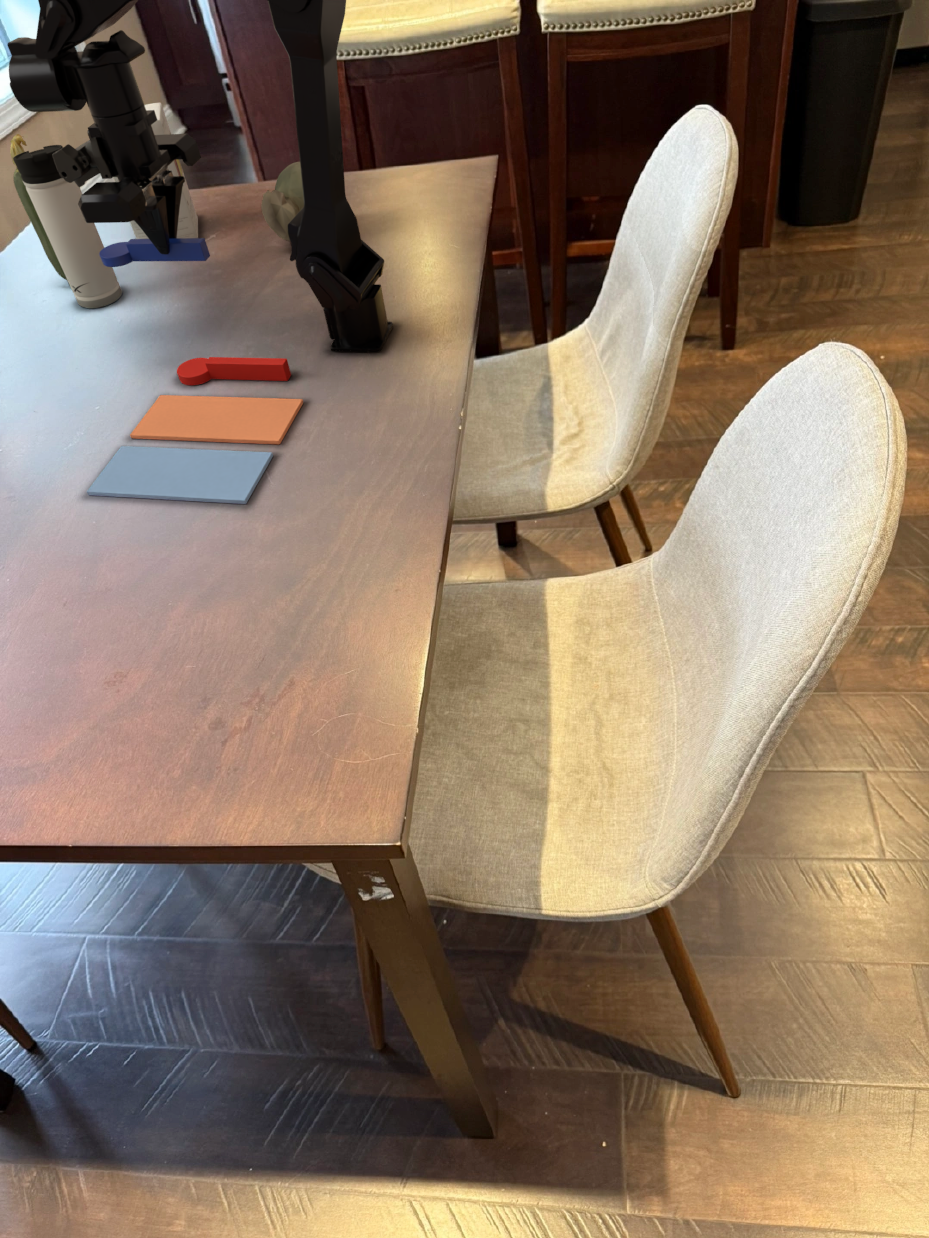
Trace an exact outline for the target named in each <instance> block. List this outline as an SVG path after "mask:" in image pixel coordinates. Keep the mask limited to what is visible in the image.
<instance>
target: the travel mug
mask: <svg viewBox="0 0 929 1238" xmlns="http://www.w3.org/2000/svg"><path fill="white" fill-rule="evenodd" d="M63 147H64V146H63V145H62V144H51V145H46V146H42V148H41V149H40V148H39V149H36V150H33V151H29V150H27V151H25V152H23V153H21V154H18V155H16V156H15V157H14V158H13V160H14V162H15V164H16V165H15V167H16V166H17V169H18V171H19V173H20V174H21V177H22V180H23V183H24V185H25V186H26V190H27V192H28V194H29V196H30V198H31V201H32V203H33V205H34V207H35V209H36V212H37V214H38V216H39V218H40V221H41V223H42V225H43V227H44V229H45V232H46V234H47V236H48V238H49V240H50V243H51V245H52V247H53V249H54V251H55V254H56V256H57V258H58V260H59V262H60V265H61V267H62V269H63V271H64V274H65V276H66V278H67V280H68V281H67V280H66V281H67V282H68V284H69V287H70V289H71V291H72V293H73V295H74V298H75V300H76V302H77V304H78V306H80V307H81V308H84V309H100V308H103V307H107V306H109V305H111V304H113V303H115V302H116V301H118V300H119V299H120V298H121V297H122V294H123V290H122V286H121V285H120V283H119V281H118V278H117V275H116V273H115V270H114V267H107V266H105V265H104V264H103V262H102V260H101V258H100V255H99V253H100V251H101V250H102V249H103V248H105V245H104V244H103V243H104V242H103V241H102V238H101V236H100V234H99V231H98V229H97V226H96V223H86V222H85V220H84V218H83V215H82V213H81V210H80V208H79V206H78V202H79V200H80V197H81V195H82V194H83V192H82V189H81V187H78V186H77V185H76V183H75V182H74V181H73V182H72V183H69V182H66V181H65V180H64V179H63V178H62V177H61V176H60V175H59V172H58V170H57V168H56V165H55V162H54V159H53V156H52V154H54V153H55V152H56V151H58V150H59V149H62V148H63Z"/></svg>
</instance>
